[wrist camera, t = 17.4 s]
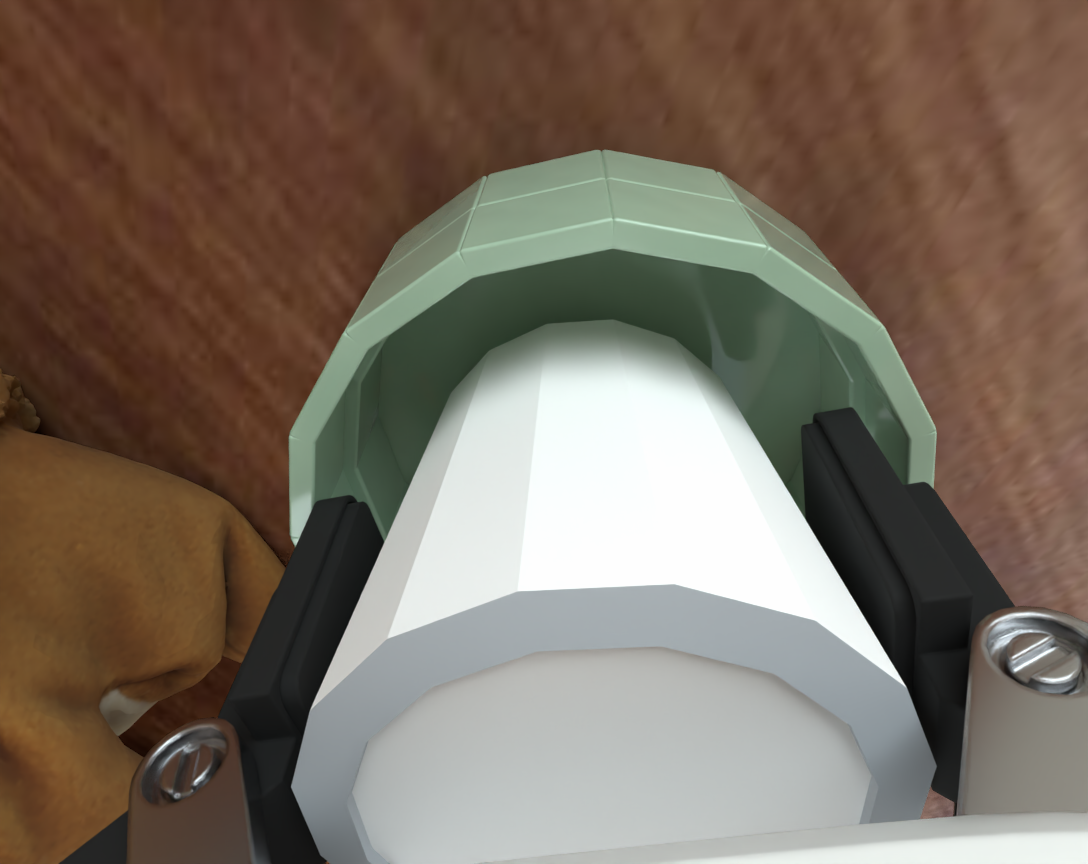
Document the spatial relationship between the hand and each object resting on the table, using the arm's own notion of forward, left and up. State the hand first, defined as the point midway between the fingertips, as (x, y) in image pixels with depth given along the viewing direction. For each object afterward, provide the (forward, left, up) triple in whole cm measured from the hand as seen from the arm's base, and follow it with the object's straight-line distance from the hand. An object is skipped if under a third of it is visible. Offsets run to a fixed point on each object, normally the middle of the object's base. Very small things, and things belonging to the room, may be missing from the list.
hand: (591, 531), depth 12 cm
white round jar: (0, 0, -2) cm, 2 cm away
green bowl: (0, 0, -4) cm, 4 cm away
